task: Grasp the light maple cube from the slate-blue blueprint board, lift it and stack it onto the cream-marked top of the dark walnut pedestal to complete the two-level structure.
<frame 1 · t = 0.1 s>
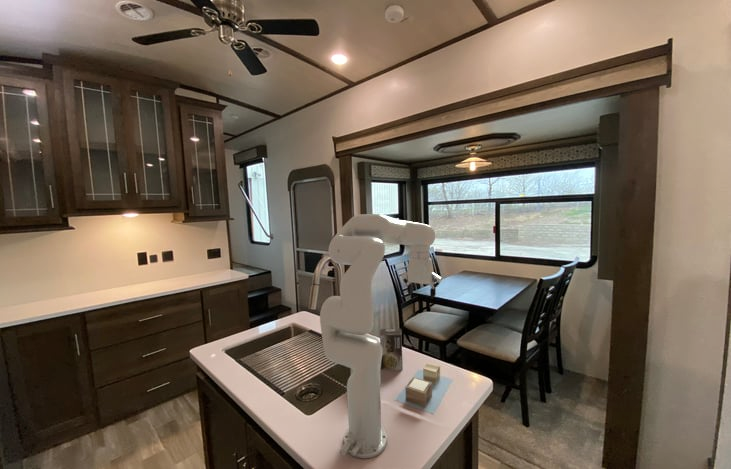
hand: (421, 295, 118), 31 cm above the worktop, tool pointing down, fingers open, 9 cm apart
maple block: (431, 379, 110), point 1 cm above the worktop, touching blueprint board
light bulb box: (365, 386, 109), on the worktop
coffee box: (391, 368, 121), on the worktop
blueprint board: (425, 391, 105), on the worktop
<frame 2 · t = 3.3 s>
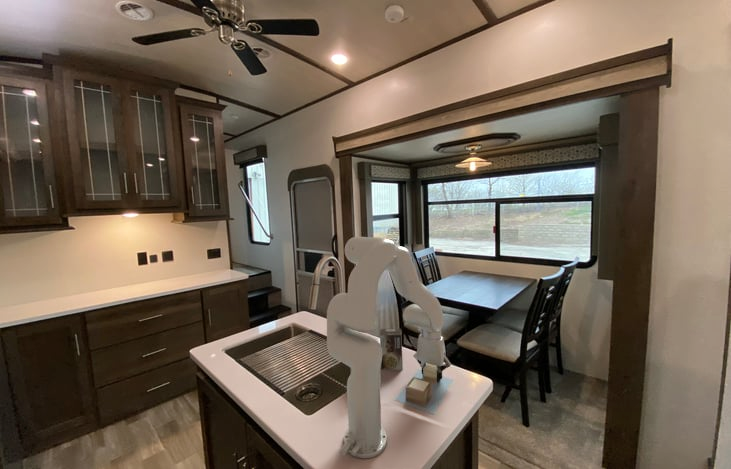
hand: (431, 377, 110), 2 cm above the worktop, tool pointing down, fingers closed on maple block, 5 cm apart
maple block: (431, 379, 110), point 1 cm above the worktop, touching blueprint board, gripper
everything else where it was.
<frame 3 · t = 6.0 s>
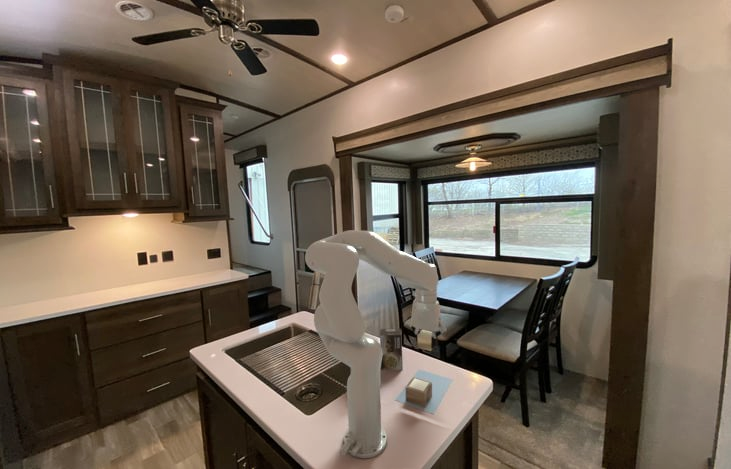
hand: (426, 345, 105), 17 cm above the worktop, tool pointing down, fingers closed on maple block, 5 cm apart
maple block: (426, 346, 105), point 16 cm above the worktop, touching gripper
everything else where it was.
when the fingers open (8 cm above the worktop, at t = 8.7 s): maple block drops 1 cm, resting on blueprint board.
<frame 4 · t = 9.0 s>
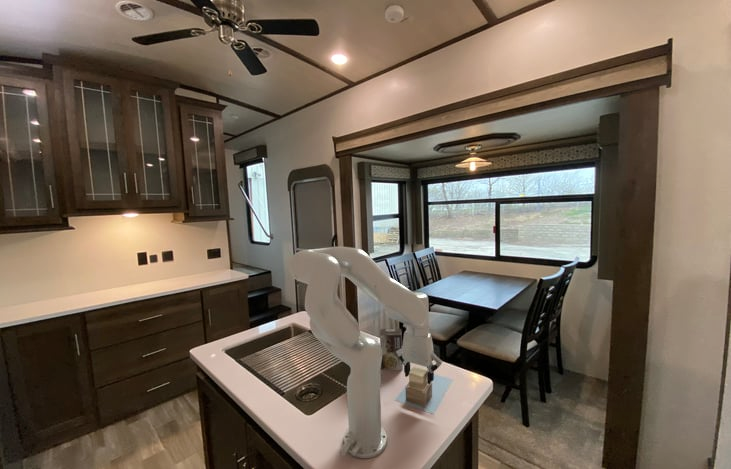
hand: (418, 378, 99), 9 cm above the worktop, tool pointing down, fingers open, 7 cm apart
maple block: (418, 384, 99), point 6 cm above the worktop, touching blueprint board
everything else where it was.
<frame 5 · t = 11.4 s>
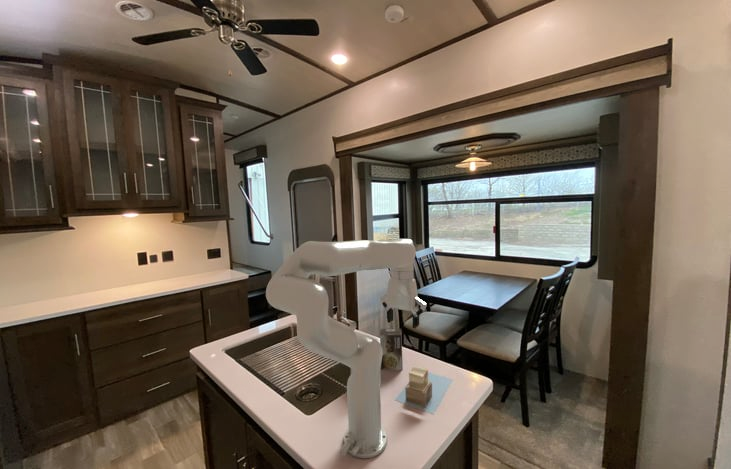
hand: (402, 324, 98), 28 cm above the worktop, tool pointing down, fingers open, 9 cm apart
nothing on the worktop moved.
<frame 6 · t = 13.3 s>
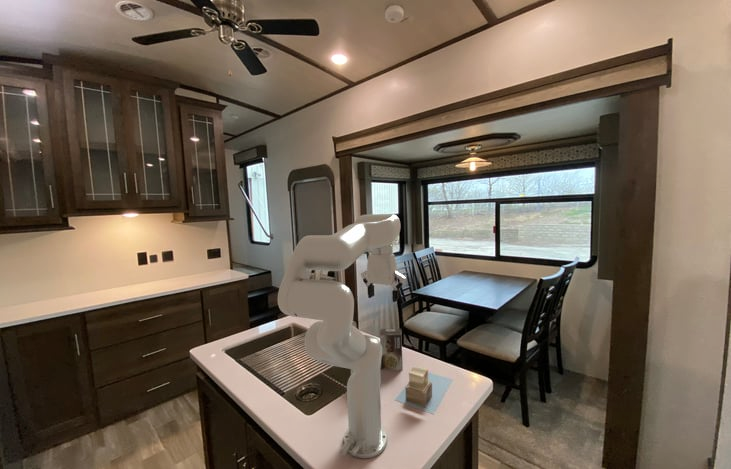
hand: (383, 298, 99), 36 cm above the worktop, tool pointing down, fingers open, 9 cm apart
nothing on the worktop moved.
at the end: maple block 0.1 cm from the target spot, point 6.1 cm above the worktop; maple block tilted 0°; the gripper is holding nothing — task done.
